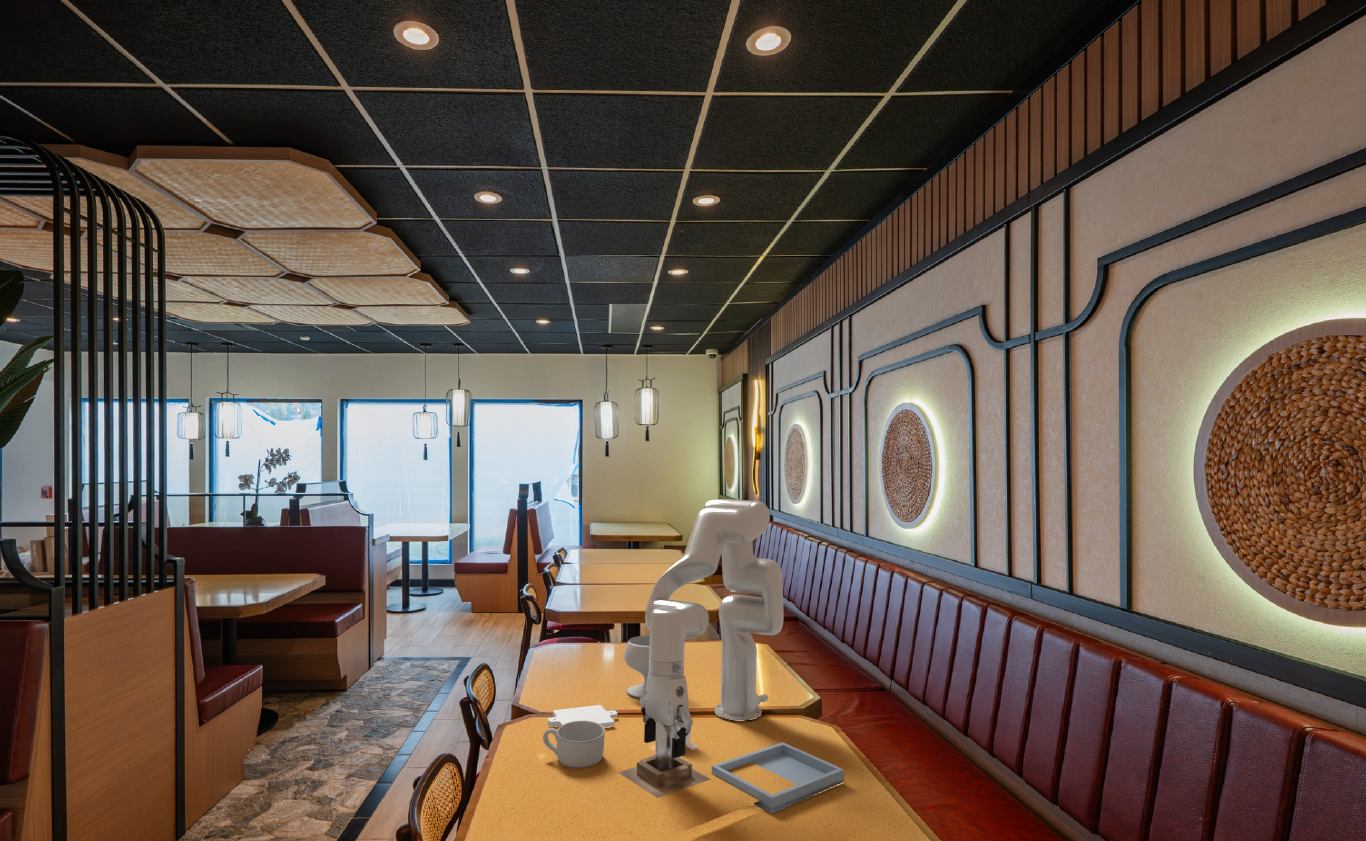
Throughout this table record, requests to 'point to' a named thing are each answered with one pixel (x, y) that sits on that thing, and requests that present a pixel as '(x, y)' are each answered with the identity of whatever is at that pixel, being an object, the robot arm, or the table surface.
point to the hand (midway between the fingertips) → (664, 748)
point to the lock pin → (663, 747)
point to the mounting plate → (583, 716)
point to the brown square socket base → (663, 776)
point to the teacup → (577, 743)
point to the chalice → (638, 662)
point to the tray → (783, 775)
